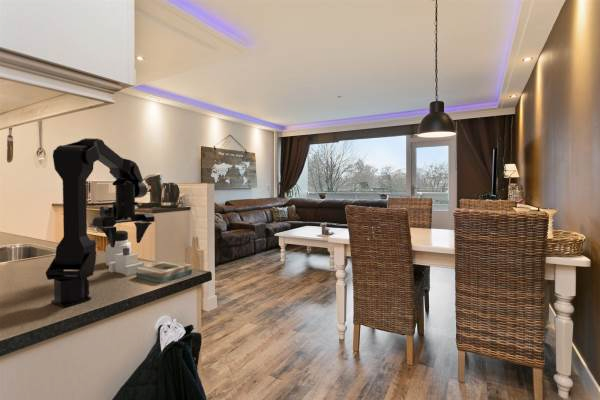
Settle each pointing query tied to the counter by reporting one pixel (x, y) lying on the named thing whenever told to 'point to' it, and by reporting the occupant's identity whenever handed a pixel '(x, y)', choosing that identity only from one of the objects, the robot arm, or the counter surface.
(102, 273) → the counter surface
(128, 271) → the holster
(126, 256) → the plug
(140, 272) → the port block
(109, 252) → the medicine bottle
